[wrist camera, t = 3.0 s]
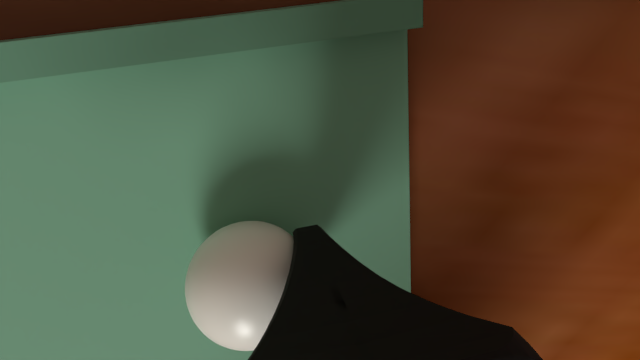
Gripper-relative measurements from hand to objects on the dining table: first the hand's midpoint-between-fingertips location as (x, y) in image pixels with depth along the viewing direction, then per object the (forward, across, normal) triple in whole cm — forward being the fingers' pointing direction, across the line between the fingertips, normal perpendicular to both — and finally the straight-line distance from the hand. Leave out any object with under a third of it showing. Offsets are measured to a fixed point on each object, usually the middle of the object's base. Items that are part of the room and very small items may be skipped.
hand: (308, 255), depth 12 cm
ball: (-1, +2, 0) cm, 2 cm away
